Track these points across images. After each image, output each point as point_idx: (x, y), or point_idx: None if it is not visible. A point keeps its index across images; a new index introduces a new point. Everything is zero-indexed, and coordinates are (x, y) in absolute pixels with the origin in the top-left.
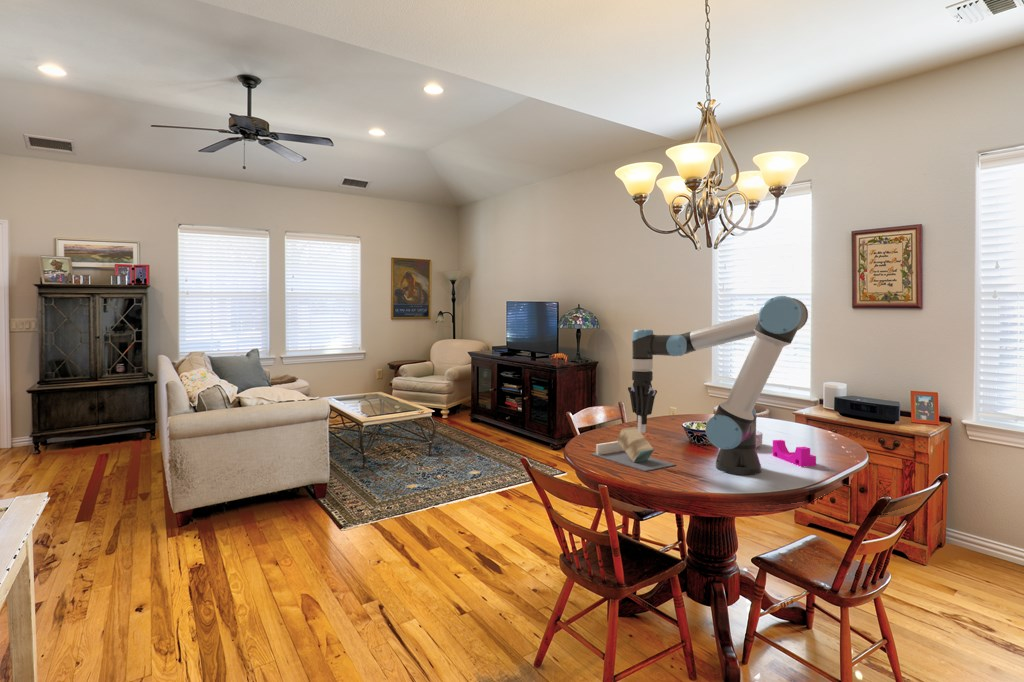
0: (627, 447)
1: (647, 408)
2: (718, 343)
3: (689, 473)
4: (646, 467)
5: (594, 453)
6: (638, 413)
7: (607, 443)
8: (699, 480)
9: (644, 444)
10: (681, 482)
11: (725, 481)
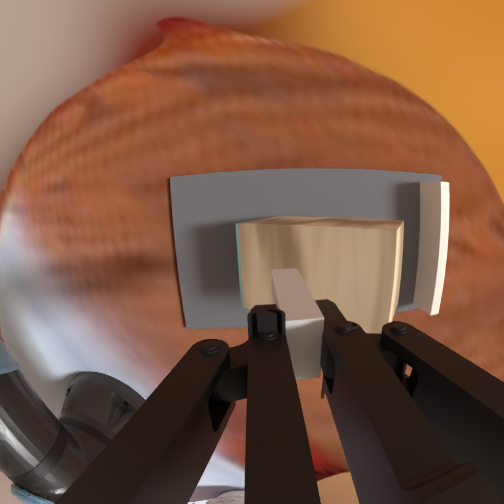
0: (324, 220)
1: (166, 387)
2: None
3: (104, 292)
4: (198, 211)
5: None
6: (327, 335)
7: (440, 231)
8: (53, 261)
9: (270, 282)
10: (55, 205)
11: (40, 307)
